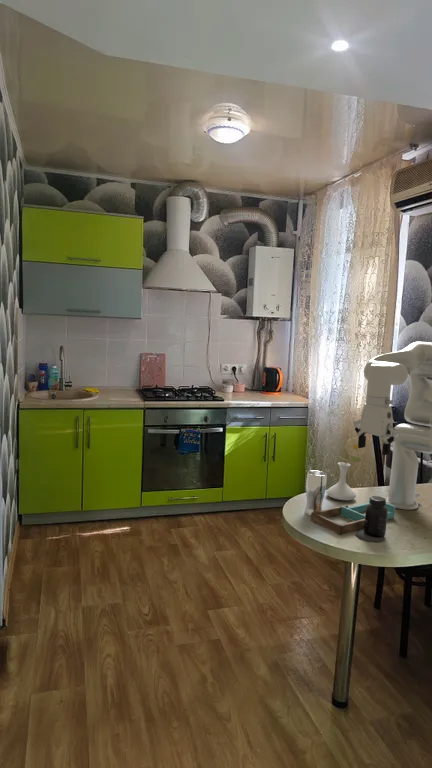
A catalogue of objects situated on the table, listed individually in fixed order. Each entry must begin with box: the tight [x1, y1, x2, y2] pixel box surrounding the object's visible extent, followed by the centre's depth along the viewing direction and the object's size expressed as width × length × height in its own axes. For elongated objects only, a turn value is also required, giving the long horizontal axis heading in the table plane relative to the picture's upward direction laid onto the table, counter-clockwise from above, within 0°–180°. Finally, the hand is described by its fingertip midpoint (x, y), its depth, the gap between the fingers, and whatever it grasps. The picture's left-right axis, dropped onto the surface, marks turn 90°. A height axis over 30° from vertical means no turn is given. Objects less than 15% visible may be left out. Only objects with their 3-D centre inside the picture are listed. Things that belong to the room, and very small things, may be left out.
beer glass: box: [304, 469, 327, 517], centre depth 184 cm, size 7×7×15 cm
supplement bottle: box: [364, 495, 388, 538], centre depth 168 cm, size 7×7×12 cm
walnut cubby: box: [310, 504, 365, 536], centre depth 177 cm, size 18×13×3 cm
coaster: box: [355, 529, 386, 544], centre depth 167 cm, size 9×9×1 cm
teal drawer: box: [340, 496, 396, 522], centre depth 185 cm, size 16×11×4 cm, turn 126°
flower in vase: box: [326, 436, 366, 501], centre depth 203 cm, size 13×11×25 cm
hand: (373, 451), depth 175 cm, fingers open, 9 cm apart
